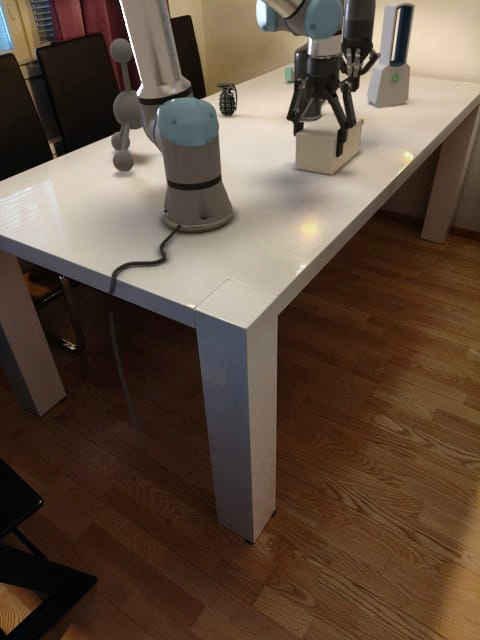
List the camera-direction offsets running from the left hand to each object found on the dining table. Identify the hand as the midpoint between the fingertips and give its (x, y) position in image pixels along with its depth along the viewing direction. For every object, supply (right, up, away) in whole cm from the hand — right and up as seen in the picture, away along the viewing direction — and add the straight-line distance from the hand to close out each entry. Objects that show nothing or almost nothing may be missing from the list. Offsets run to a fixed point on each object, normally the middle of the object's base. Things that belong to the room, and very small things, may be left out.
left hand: (318, 152), depth 125 cm
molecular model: (-47, +3, +15) cm, 49 cm away
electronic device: (+32, +34, +47) cm, 66 cm away
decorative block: (+11, +61, +84) cm, 104 cm away
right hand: (+10, +19, +7) cm, 23 cm away
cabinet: (+3, 0, +6) cm, 7 cm away
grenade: (-24, +28, +45) cm, 58 cm away
